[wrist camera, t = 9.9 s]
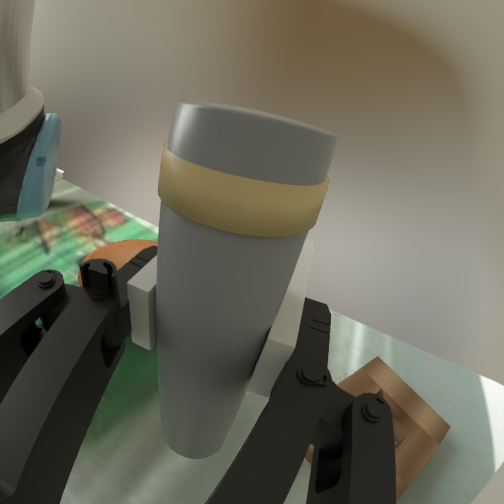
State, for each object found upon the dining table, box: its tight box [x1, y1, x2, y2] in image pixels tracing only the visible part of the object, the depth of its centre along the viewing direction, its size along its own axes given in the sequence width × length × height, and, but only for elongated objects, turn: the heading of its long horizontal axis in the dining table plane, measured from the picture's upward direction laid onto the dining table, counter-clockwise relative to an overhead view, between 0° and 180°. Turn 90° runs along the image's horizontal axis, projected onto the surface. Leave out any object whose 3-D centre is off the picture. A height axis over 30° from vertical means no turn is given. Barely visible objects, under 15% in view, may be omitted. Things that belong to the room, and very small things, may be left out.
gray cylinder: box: [156, 100, 338, 459], centre depth 10 cm, size 4×4×16 cm
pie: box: [78, 239, 158, 287], centre depth 34 cm, size 16×16×5 cm
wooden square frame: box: [305, 356, 450, 500], centre depth 21 cm, size 13×13×4 cm
